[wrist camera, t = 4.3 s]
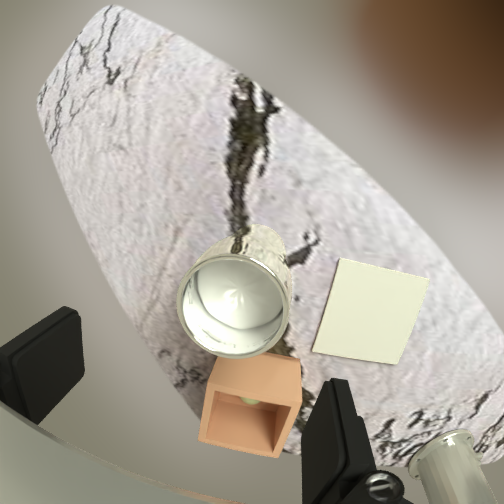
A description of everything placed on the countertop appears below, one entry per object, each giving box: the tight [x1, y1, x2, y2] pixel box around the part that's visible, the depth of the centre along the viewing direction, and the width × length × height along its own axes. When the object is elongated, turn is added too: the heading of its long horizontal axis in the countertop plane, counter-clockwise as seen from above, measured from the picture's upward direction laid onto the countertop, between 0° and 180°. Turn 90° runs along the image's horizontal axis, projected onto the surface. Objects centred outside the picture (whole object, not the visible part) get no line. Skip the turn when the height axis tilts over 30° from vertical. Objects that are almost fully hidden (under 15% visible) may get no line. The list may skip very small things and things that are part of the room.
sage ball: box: [240, 397, 261, 405], centre depth 33 cm, size 3×3×3 cm
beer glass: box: [176, 224, 292, 359], centre depth 24 cm, size 7×7×15 cm
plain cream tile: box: [312, 258, 430, 365], centre depth 32 cm, size 11×11×1 cm
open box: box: [198, 352, 302, 458], centre depth 31 cm, size 9×9×8 cm
